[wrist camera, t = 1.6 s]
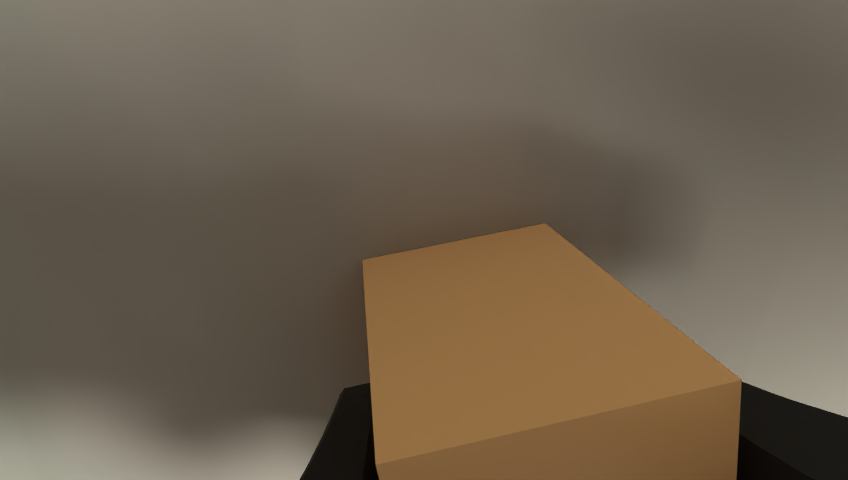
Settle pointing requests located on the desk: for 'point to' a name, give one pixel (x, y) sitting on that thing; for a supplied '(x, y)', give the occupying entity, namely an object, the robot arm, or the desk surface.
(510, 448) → the plug block
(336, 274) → the desk surface
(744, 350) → the desk surface
